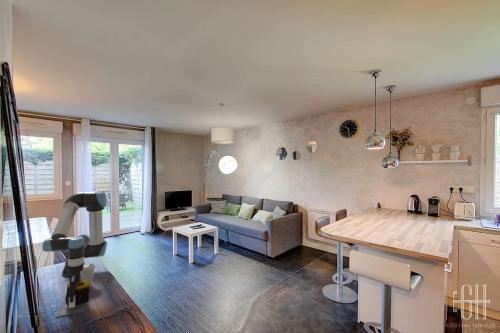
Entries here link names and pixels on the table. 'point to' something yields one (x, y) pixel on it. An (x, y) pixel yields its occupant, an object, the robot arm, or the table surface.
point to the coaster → (72, 309)
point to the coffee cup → (88, 272)
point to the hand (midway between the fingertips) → (74, 301)
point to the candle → (80, 292)
